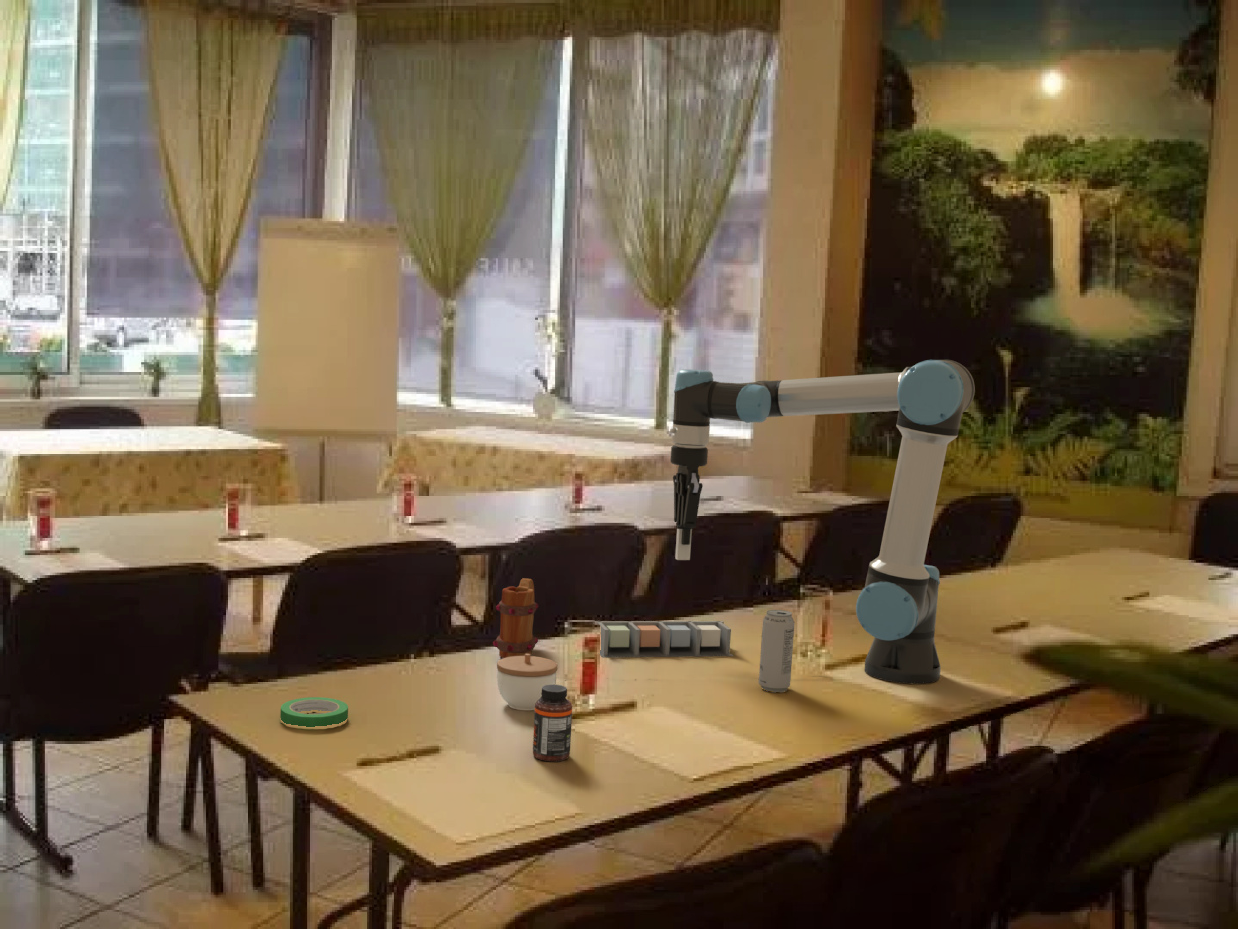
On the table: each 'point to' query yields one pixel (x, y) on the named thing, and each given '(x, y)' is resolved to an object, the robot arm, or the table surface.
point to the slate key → (679, 636)
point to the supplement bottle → (552, 724)
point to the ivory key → (709, 635)
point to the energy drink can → (776, 650)
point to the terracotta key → (649, 636)
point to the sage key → (618, 636)
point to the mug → (517, 620)
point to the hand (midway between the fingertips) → (682, 559)
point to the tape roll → (314, 703)
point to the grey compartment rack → (665, 640)
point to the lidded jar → (524, 679)
